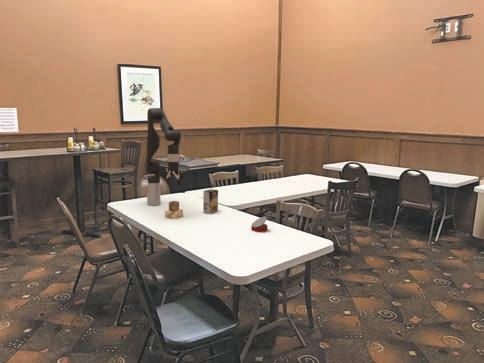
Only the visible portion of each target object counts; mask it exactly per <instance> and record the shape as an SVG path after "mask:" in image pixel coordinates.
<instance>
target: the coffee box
mask: <svg viewBox="0 0 484 363" xmlns="http://www.w3.org/2000/svg"><path fill="white" fill-rule="evenodd" d="M202 197H203V200H202V201H203V203H202V204H203V208H202V210H203V214H207V215H211V214H215V213H218V212H219V189H206V190H203V196H202Z"/></svg>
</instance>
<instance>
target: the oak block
mask: <svg viewBox="0 0 484 363" xmlns="http://www.w3.org/2000/svg"><path fill="white" fill-rule="evenodd" d="M182 217H184V209H180V208H179V211H176V212H173V211H169V209H167V210H165V211H164V218H165V219H167V220H168V219H169V220H178V219H181V218H182Z"/></svg>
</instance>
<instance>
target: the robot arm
mask: <svg viewBox="0 0 484 363" xmlns="http://www.w3.org/2000/svg"><path fill="white" fill-rule="evenodd" d="M154 122H160V124H159V127H160V129H161V131H162V132H163V134H164V139H165V140H166V141H168V142H173V143H171V144H169V145H167V157H166V158H167V159H166V160H167V168H164V169H163V177H164V178H166V184H167V185H170V184H171V177H172V176H173V177H175V178H176V179H177V182H176V185H177V186H180V185H181V184H182V182H181V181H182V180H183V179H184V171H183V169H180V156H179V155H180V154H179V152H180V151H179V147H180V142H181V140H182V139H181V138H182V134H181V131H180V130H178V129H174V127H173V126H172V124H171V123H170V122H169V120H168V117H167V114H166V113H165V110H164V109H162V108H161V107H151V108H148V109H147V133H146V134H147V135H146V136H147V137H146V155H145V157H146V158H145V164H144V168H145V170H144V171H145V173H146V174H148V175H150V174H151V175H153V176H151V177H148V179H147V192H146V203H147V204H146V205H147V206H151V207H155V206H157V207H158V206H161V203H162V202H161V163H160V161H158V160H157V161H155V160H153V161H152V159H153V157H154V155H155V154H156V153H157V151H158V150H159V149H160V143H161V138H160V137H161V136H160V135H159V134H158V132H157V130H156V129H155V126H154Z"/></svg>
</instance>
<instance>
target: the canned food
mask: <svg viewBox="0 0 484 363" xmlns="http://www.w3.org/2000/svg"><path fill="white" fill-rule="evenodd" d="M266 221H267V216H261V217H259V218H258V219H256V220H254V221H253V222H252V223H251V225H250V226H251V227H250V228H251V231H252V232H254V231H255V232H256V233H265V231H266V232H267V231H268V224H266V223H265V222H266ZM255 232H254V233H255Z"/></svg>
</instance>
